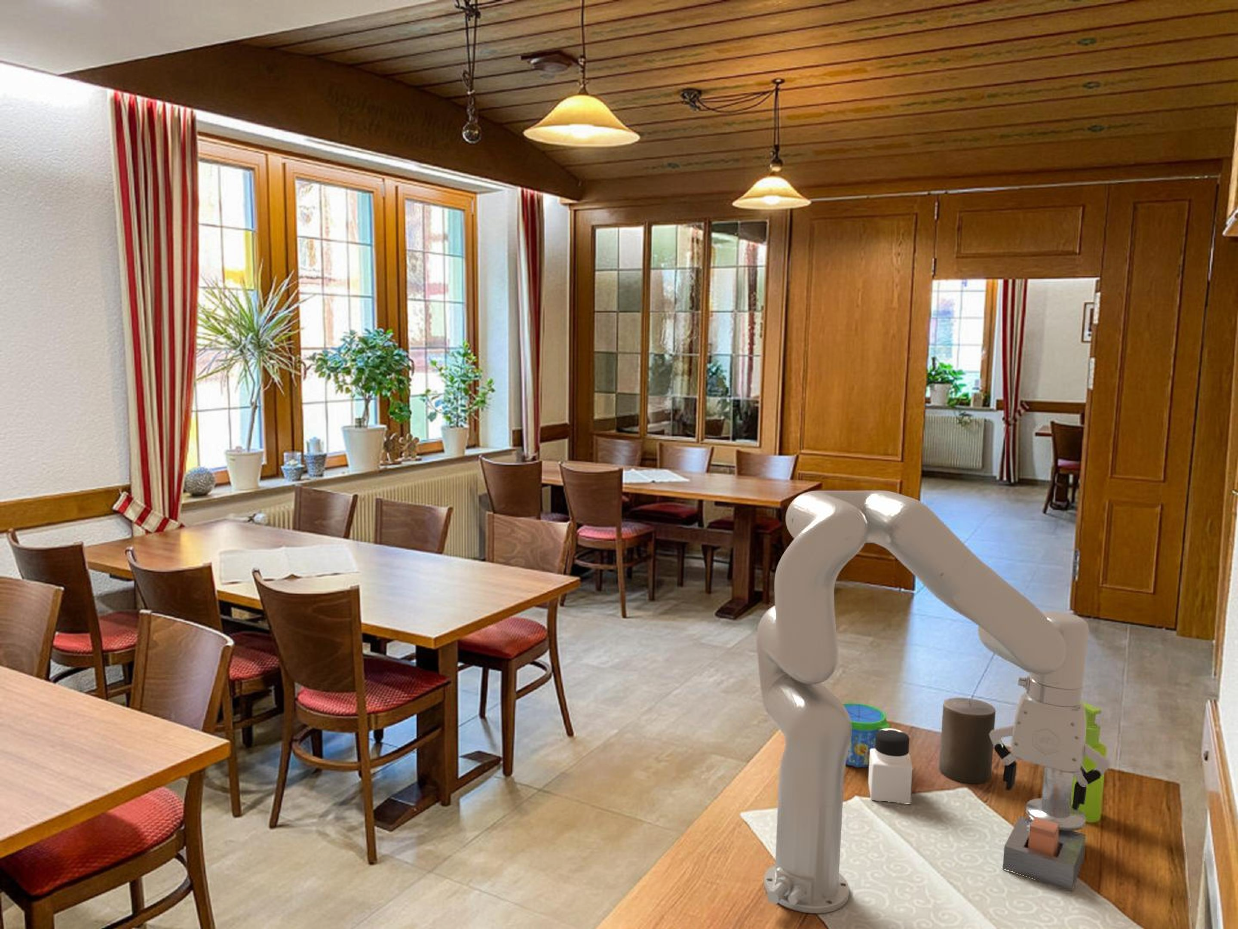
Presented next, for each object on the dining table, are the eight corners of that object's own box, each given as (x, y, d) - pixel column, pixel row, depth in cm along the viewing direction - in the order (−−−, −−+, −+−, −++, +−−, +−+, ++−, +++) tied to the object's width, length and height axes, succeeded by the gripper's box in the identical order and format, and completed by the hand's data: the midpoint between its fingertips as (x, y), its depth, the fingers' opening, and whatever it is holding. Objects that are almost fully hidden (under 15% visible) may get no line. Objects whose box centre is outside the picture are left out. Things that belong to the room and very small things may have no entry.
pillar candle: (986, 788, 171) (992, 712, 169) (933, 775, 176) (938, 701, 174) (994, 770, 179) (1000, 697, 177) (944, 757, 184) (949, 686, 183)
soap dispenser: (1075, 801, 167) (1084, 697, 164) (1108, 819, 160) (1117, 711, 158) (1051, 806, 164) (1060, 701, 162) (1083, 825, 158) (1092, 715, 156)
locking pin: (1051, 878, 141) (1054, 833, 141) (1026, 870, 144) (1029, 825, 143) (1055, 868, 144) (1059, 823, 143) (1031, 860, 146) (1034, 816, 146)
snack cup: (905, 768, 179) (908, 719, 178) (872, 782, 173) (875, 731, 171) (842, 741, 191) (844, 694, 190) (809, 753, 185) (811, 706, 184)
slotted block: (1071, 891, 138) (1083, 754, 135) (1002, 869, 144) (1012, 737, 141) (1090, 840, 153) (1100, 715, 150) (1026, 822, 159) (1035, 702, 156)
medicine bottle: (911, 805, 164) (915, 742, 162) (870, 801, 165) (874, 738, 164) (906, 787, 171) (910, 726, 169) (868, 783, 172) (871, 723, 171)
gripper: (990, 685, 142) (979, 788, 144) (1113, 714, 133) (1100, 824, 134) (1001, 673, 148) (990, 772, 150) (1119, 700, 139) (1107, 806, 141)
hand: (1042, 796), depth 142 cm, fingers open, 9 cm apart
